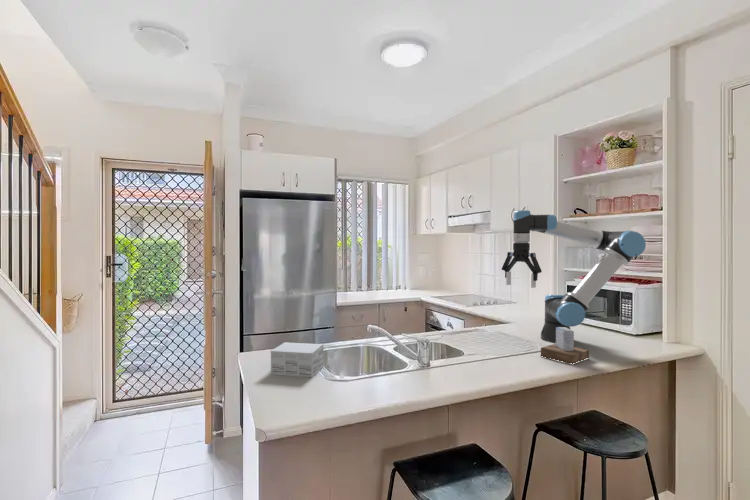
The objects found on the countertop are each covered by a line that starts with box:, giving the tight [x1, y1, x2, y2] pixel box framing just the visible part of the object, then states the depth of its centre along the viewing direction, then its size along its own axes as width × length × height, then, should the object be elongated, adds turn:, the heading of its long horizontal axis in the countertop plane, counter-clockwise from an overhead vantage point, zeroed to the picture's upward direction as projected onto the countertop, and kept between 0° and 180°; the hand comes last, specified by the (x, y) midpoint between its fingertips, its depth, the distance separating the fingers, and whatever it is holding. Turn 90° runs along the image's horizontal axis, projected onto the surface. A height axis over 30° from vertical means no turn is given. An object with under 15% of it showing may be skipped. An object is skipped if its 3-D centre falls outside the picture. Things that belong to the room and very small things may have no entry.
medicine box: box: [555, 327, 575, 351], centre depth 172 cm, size 8×4×9 cm, turn 178°
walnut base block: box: [540, 343, 590, 364], centre depth 172 cm, size 14×14×4 cm
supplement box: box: [270, 341, 325, 378], centre depth 154 cm, size 17×13×9 cm
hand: (520, 286), depth 192 cm, fingers open, 13 cm apart
